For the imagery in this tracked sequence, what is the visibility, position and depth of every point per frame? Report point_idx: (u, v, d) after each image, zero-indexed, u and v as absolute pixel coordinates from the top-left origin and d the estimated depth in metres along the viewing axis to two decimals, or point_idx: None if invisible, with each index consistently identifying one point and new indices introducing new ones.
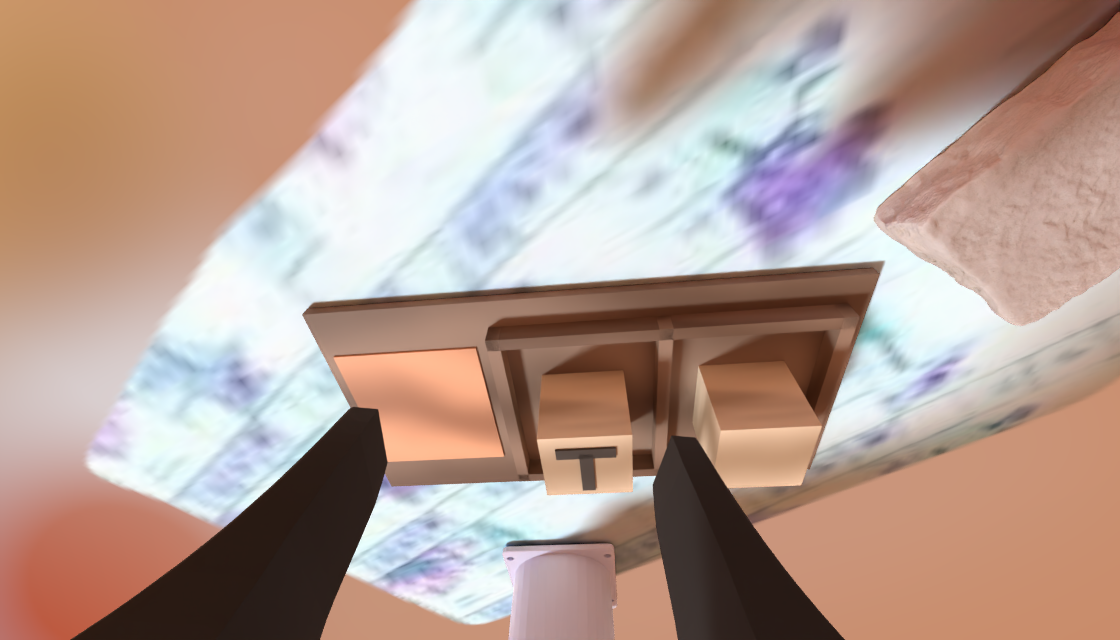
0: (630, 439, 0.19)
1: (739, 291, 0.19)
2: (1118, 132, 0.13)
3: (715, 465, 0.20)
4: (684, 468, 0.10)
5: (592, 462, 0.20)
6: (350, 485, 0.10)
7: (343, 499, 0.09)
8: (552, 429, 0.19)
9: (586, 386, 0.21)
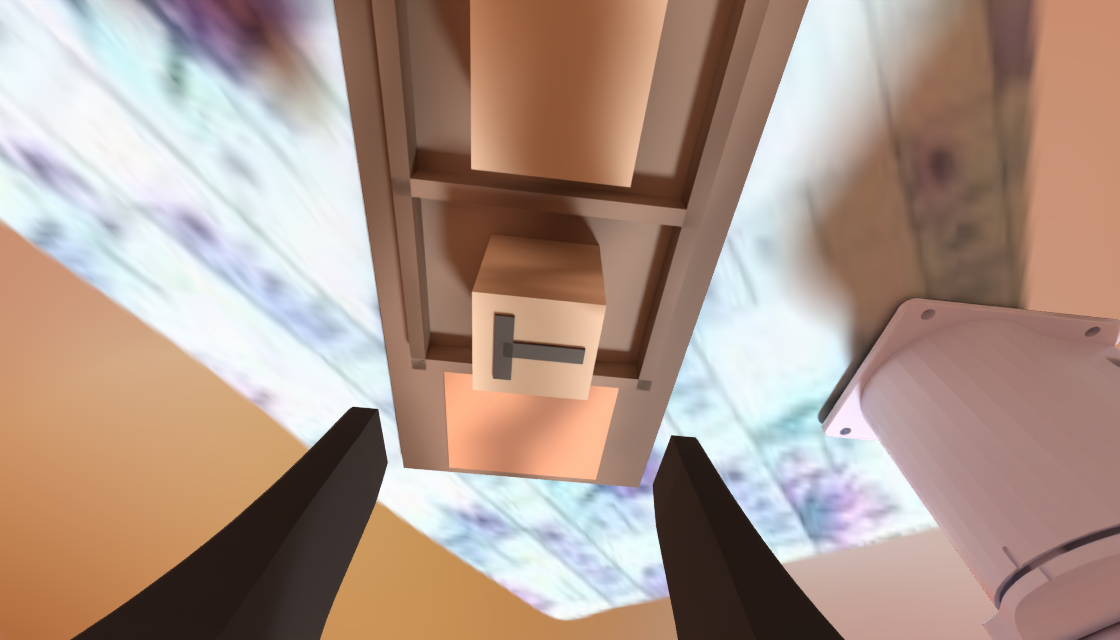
0: (481, 294, 0.13)
1: (357, 65, 0.13)
2: None
3: (563, 178, 0.11)
4: (684, 468, 0.10)
5: (522, 345, 0.14)
6: (350, 485, 0.10)
7: (343, 498, 0.09)
8: None
9: None
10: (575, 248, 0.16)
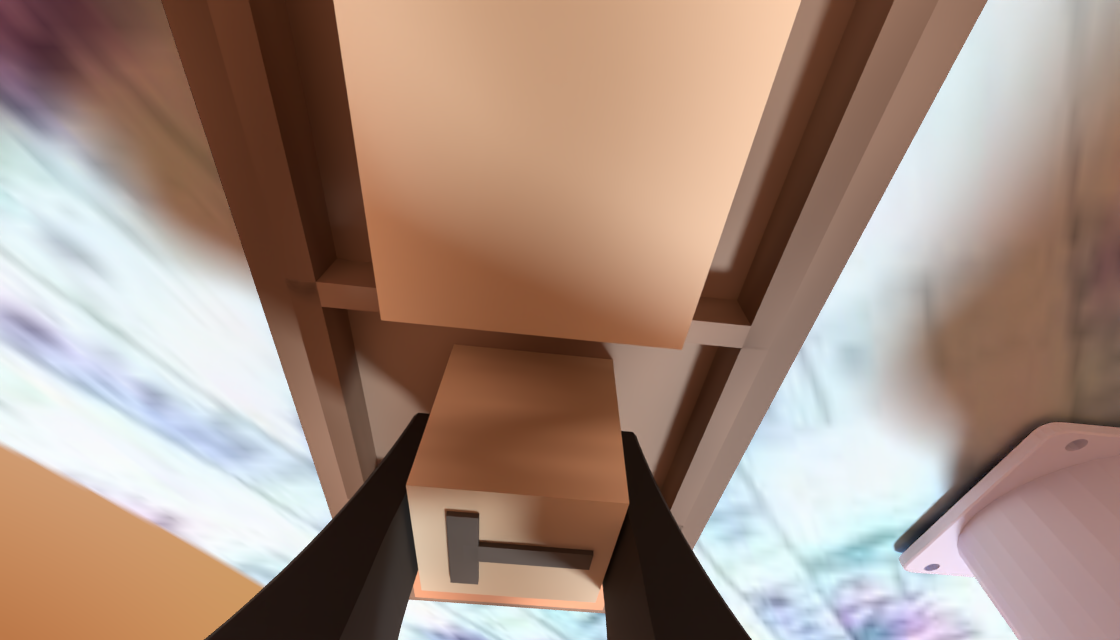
0: (422, 489, 0.08)
1: (218, 106, 0.08)
2: None
3: (557, 335, 0.06)
4: None
5: (492, 549, 0.09)
6: None
7: None
8: None
9: None
10: (577, 367, 0.11)
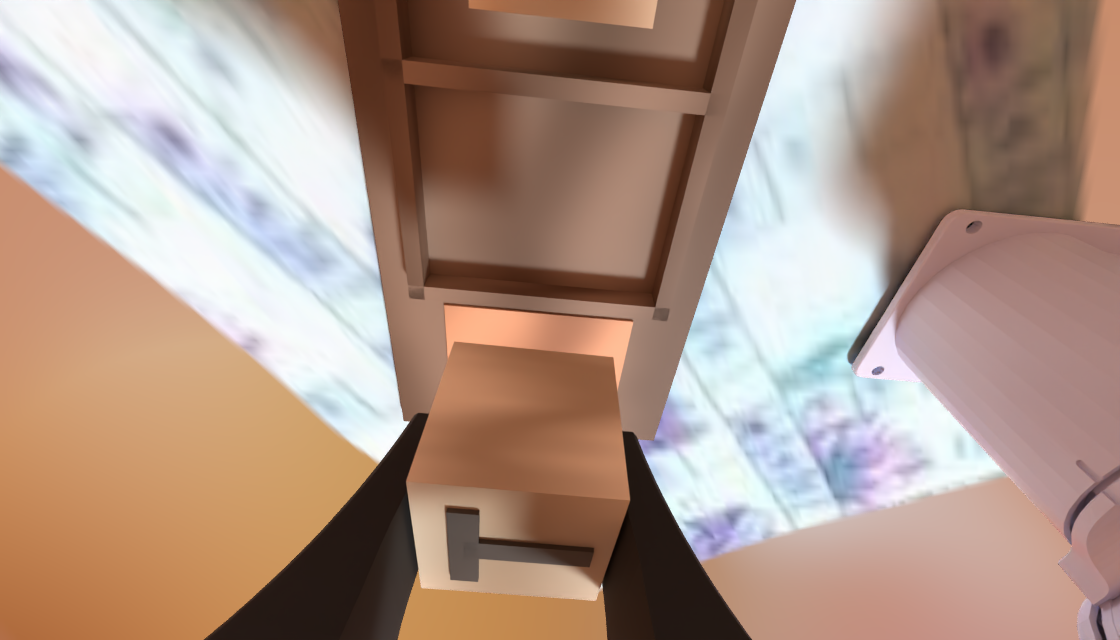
0: (422, 485, 0.08)
1: None
2: None
3: (575, 18, 0.10)
4: None
5: (492, 545, 0.09)
6: None
7: None
8: None
9: None
10: (577, 364, 0.11)
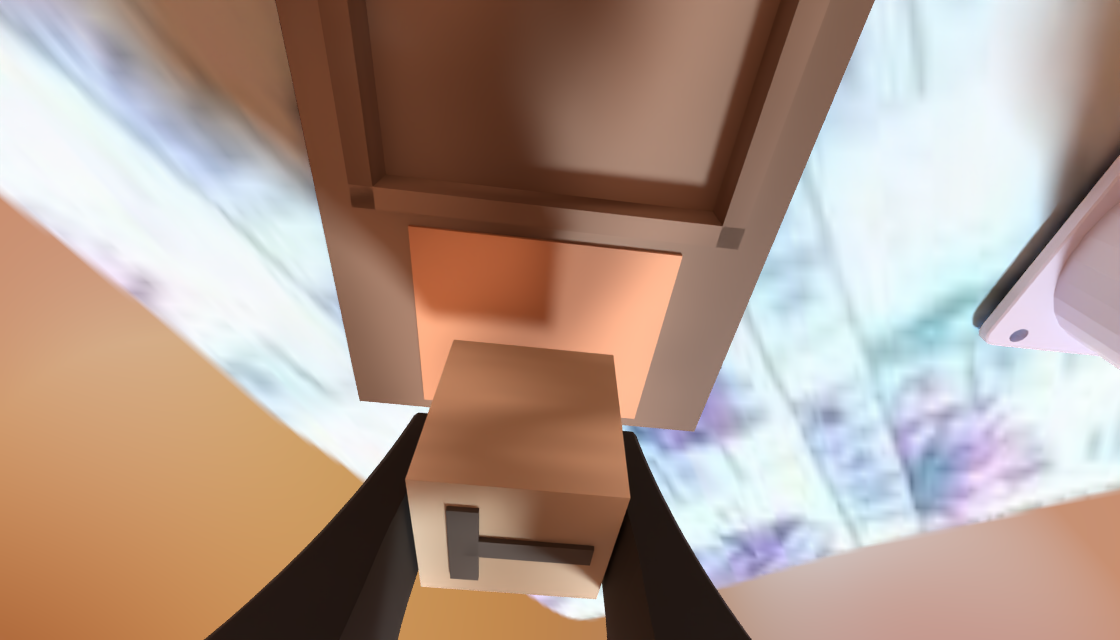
0: (421, 483, 0.08)
1: None
2: None
3: None
4: None
5: (492, 544, 0.09)
6: None
7: None
8: None
9: None
10: (577, 362, 0.11)
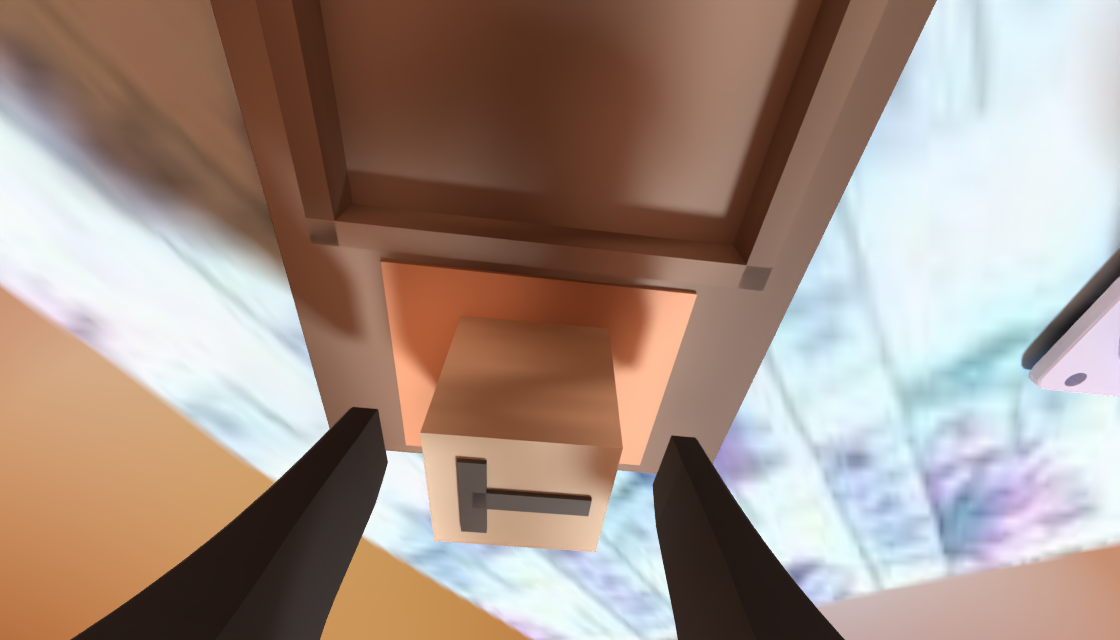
0: (435, 436, 0.09)
1: None
2: None
3: None
4: (684, 468, 0.10)
5: (499, 495, 0.10)
6: (350, 485, 0.10)
7: (343, 498, 0.09)
8: None
9: None
10: (576, 335, 0.12)
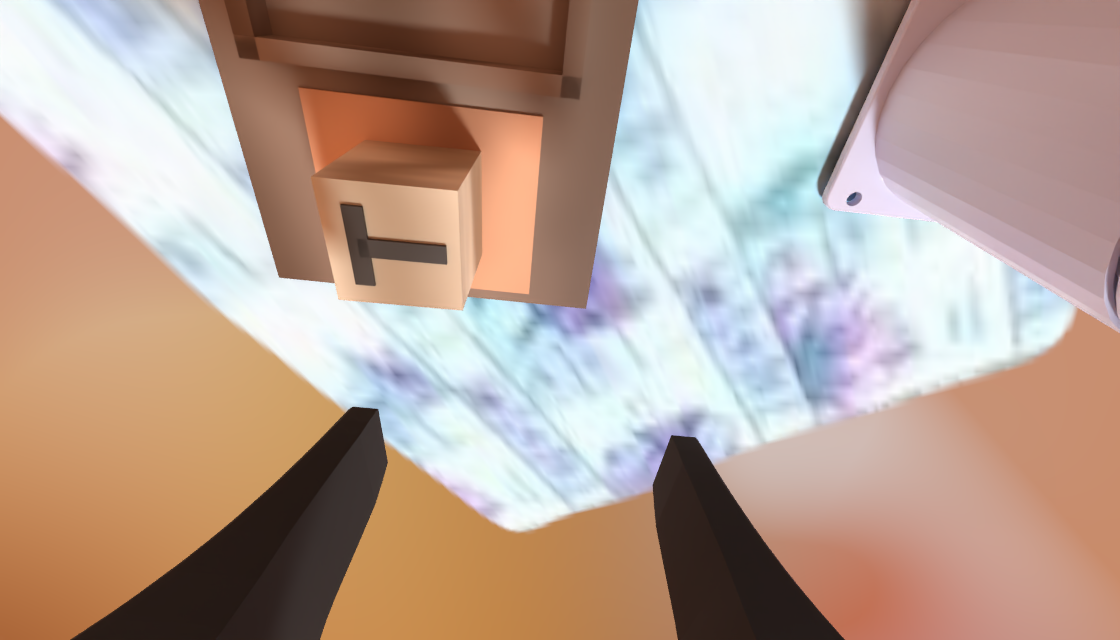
0: (321, 180, 0.12)
1: None
2: None
3: None
4: (684, 468, 0.10)
5: (377, 242, 0.13)
6: (350, 485, 0.10)
7: (344, 499, 0.09)
8: None
9: None
10: (452, 152, 0.15)
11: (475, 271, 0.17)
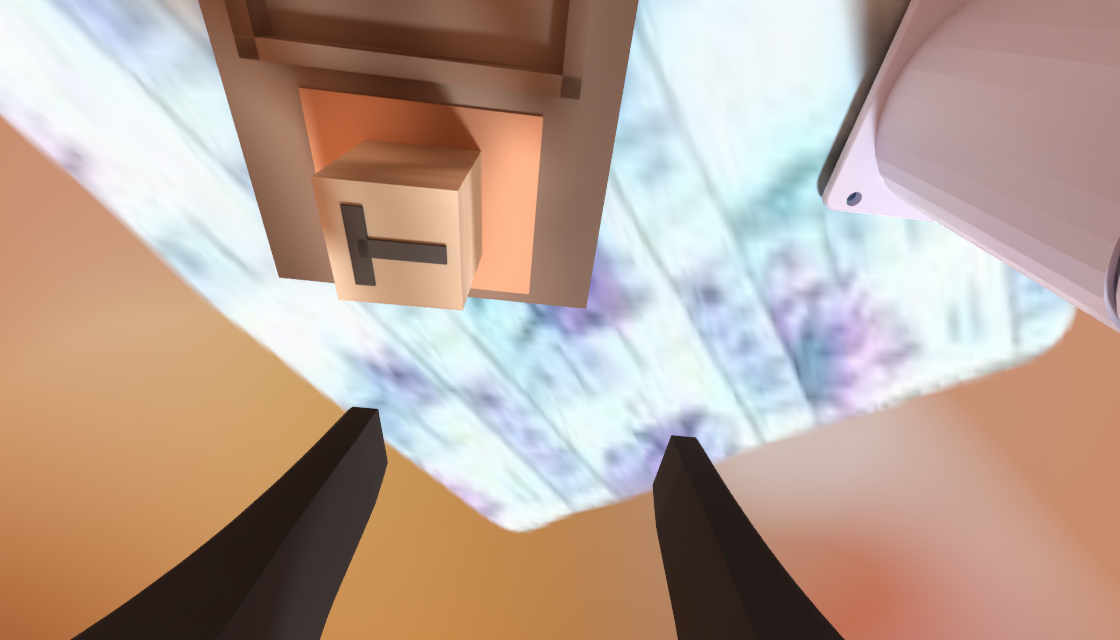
0: (321, 180, 0.12)
1: None
2: None
3: None
4: (684, 468, 0.10)
5: (377, 242, 0.13)
6: (350, 485, 0.10)
7: (344, 499, 0.09)
8: None
9: None
10: (452, 152, 0.15)
11: (475, 271, 0.17)
